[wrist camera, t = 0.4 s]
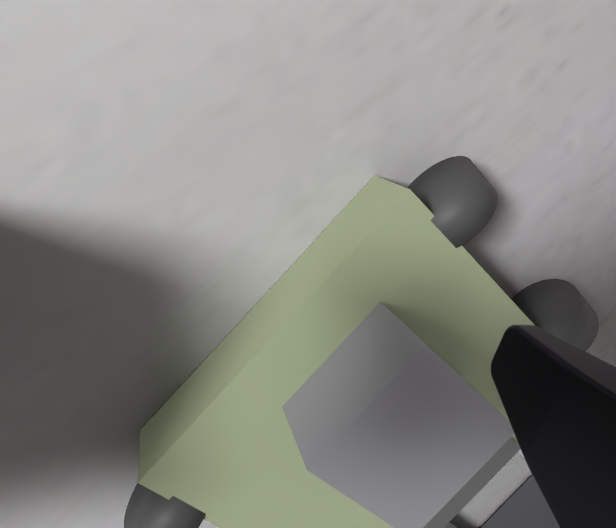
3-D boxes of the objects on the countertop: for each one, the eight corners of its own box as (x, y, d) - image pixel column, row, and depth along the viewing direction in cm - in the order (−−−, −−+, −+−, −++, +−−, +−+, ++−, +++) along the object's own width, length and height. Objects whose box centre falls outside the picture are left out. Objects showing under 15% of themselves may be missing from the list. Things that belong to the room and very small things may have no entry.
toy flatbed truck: (462, 668, 37) (534, 804, 30) (98, 475, 25) (75, 626, 18) (687, 443, 36) (815, 528, 29) (420, 126, 24) (530, 142, 17)
